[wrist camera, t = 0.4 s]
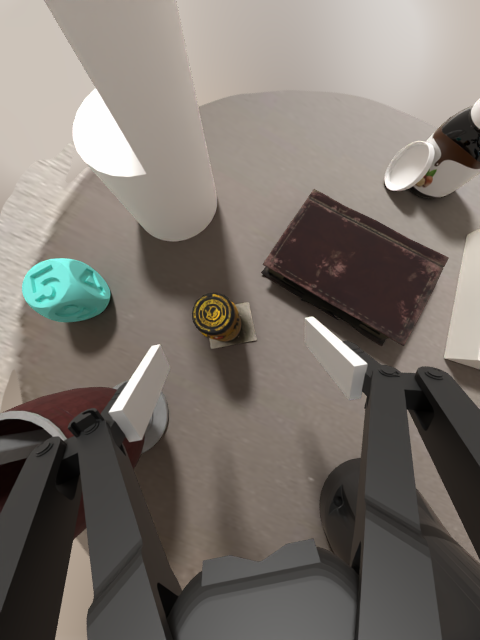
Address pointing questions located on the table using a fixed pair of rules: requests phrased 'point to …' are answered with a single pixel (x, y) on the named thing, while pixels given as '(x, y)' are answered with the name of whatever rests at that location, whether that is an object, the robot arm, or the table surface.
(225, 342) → the condiment
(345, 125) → the table surface
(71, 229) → the table surface
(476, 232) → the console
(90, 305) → the decorative dice
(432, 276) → the diary
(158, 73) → the cylinder
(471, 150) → the spread jar
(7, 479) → the mate gourd
